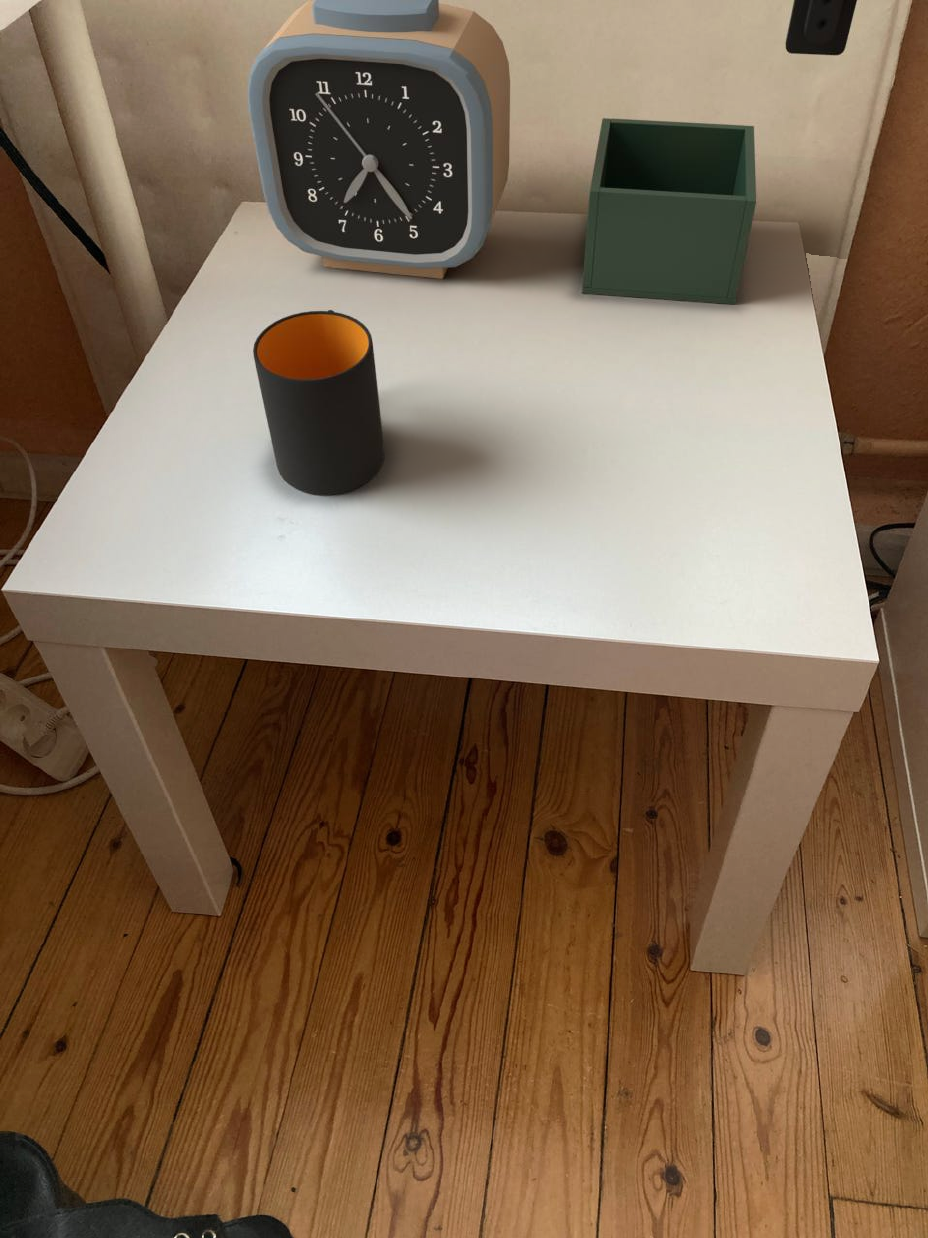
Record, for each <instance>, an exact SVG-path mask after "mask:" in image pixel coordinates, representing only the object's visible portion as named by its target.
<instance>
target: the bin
mask: <svg viewBox="0 0 928 1238" xmlns="http://www.w3.org/2000/svg"><path fill="white" fill-rule="evenodd" d="M755 145H756V144H755V126H754V125H743V124H725V123H724V124H723V123H706V122H688V121H687V122H685V121H668V120H667V121H666V120H650V119H648V120H647V119H631V118H630V119H629V118H609V117H607V118H606V117H605V118H604V117H603V118H602V119H601V124H600V130H599V136H598V142H597V147H596V152H595V153H596V154H595V158H594V164H593V170H592V176H591V181H590V187H589V195H588V208H587V221H586V233H585V246H584V247H585V248H584V261H583V274H582V286H581V287H582V289H581V294H587V295H588V294H589V295H601V296H602V295H603V296H613V297H614V296H615V297H616V296H617V297H630V298H641V299H642V298H643V299H655V300H669V301H685V302H696V303H709V304H711V303H713V304H723V305H724V304H725V305H736V303H737V297H738V292H739V288H740V282H741V278H742V272H743V269H744V264H745V259H746V255H747V248H748V244H749V239H750V234H751V230H752V226H753V220H754V215H755V210H756V206H757V181H756V178H757V177H756V149H755Z"/></svg>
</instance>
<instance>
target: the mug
mask: <svg viewBox="0 0 928 1238" xmlns="http://www.w3.org/2000/svg"><path fill="white" fill-rule="evenodd" d="M252 354H253V359H254V365H255V369H256V374H257V379H258V384H259V389H260V393H261V394H260V395H261V398H262V402H263V408H264V413H265V418H266V423H267V426H268V432H269V436H270V440H271V441H270V442H271V445H272V450H273V454H274V460H275V464H276V469H277V470H278V471H277V472H278V474H279V476H280V477H281V478H282V479H283V481H285V482H286V483H287V484H288V485H289V486H291V487H292V488H294V489H296V490H298V491H301V492H303V493H307V494H310V495H311V494H312V495H320V496H333V495H338V494H339V495H340V494H344V493H347V492H352V491H354V490H356V489H358V488H361V487H362V486H364V485H365V484H367V483H369V482H370V481H371V480H373V479H374V477H375V476H376V475H377V474H378V473H379V471H380V469H381V468H382V466H383V464H384V460H385V445H384V436H383V425H382V416H381V407H380V398H379V396H380V395H379V387H378V380H377V369H376V360H375V359H376V358H375V351H374V342H373V337H372V334H371V332H370V330H369V328H368V327H367V326H366V325H365V324H364V323H362V322H361V321H360V320H358V319H357V318H355V317H353V316H351V315H348V314H345V313H342V312H336V311H334V310H332V309H329V310H311V311H304V312H303V311H302V312H298V313H294V314H290V315H287V316H284V317H282V318H280V319H277V320H276V321H274V322H272V323H271V324H269V325H268V326H267V327H266V328H265V329H263V330H262V331H261V332H260V333H259V335H258V336H257V337H256V339H255V341H254V344H253V349H252Z"/></svg>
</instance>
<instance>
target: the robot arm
mask: <svg viewBox="0 0 928 1238" xmlns="http://www.w3.org/2000/svg"><path fill="white" fill-rule="evenodd" d="M857 2H858V0H793V4H792V9H791V14H790V18H789V22H788V23H789V24H788V29H787V33H786V39H785V43H784V44H785V51H787V53H789V54H791V55H792V54H793V55H814V56H815V55H818V56H840V55H841V54H843V53H844V52H845V50H846V47H847V43H848V39H849V35H850V30H851V27H852V23H853V19H854V16H855V15H854V14H855V10H856V6H857Z"/></svg>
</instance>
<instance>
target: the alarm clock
mask: <svg viewBox="0 0 928 1238" xmlns="http://www.w3.org/2000/svg"><path fill="white" fill-rule="evenodd" d="M439 1H440V0H308V1H307V2H305V3H304V4H303V5H301V6H300V7H299V8H298V9H296V10H295V11H294V12H292V14H291V15H290V16H289V17H288V18H287V20H286V21H285V22H284V23H283V25H282V26H281V27H280V28H279V29H278V31H277V32H275V34H274V35H273V37H272V38H271V39H270V41H269V42H268V43H267V44H266V45H265V47H263V49H261V51H260V53H258V55H257V57H256V58H255V61H254V63H253V65H252V67H251V69H250V71H249V77H248V86H247V91H246V92H247V93H246V95H247V103H248V105H247V106H248V115H249V119H250V125H251V131H252V137H253V142H254V149H255V153H256V160H257V164H258V169H259V176H260V181H261V187H262V192H263V197H264V200H265V204H266V207H267V211H268V213H269V215H270V217H271V219H272V221H273V223H274V225H275V227H276V229H277V230H278V231H279V232H280V234H282V236H283V237H284V238H285V239H286V241H288V242H289V243H291V244H292V245H293V246H295V247H296V248H298V249H300V251H302V252H304V253H307V254H311V255H315V256H318V257H322V263H323V267H324V268H333V269H341V270H350V271H351V270H352V271H360V272H361V271H362V272H370V273H371V272H372V273H382V274H392V275H400V276H401V275H403V276H410V277H411V276H412V277H422V278H430V279H431V278H432V279H441V280H443V279H444V277H445V274H446V273H447V270H448V269H449V268H457V267H458V266H460V265H462V264H465V263H466V262H468V261H470V260H472V259H473V258H474V257H475V255H476V254H477V253H478V252H479V251H480V250H481V249H482V247H483V246H484V243H485V240H486V238H487V235H488V233H489V231H490V230H489V229H490V228H491V226H492V222H493V220H494V217H495V214H496V211H497V209H498V206H499V204H500V201H501V198H502V196H503V193H504V191H505V187H506V185H507V182H508V178H509V177H508V176H509V168H510V139H511V138H510V136H511V135H510V132H511V131H510V130H511V129H510V127H511V124H510V123H511V76H510V75H511V74H510V62H509V59H508V55H507V52H506V49H505V46H504V42H503V39H501V38H500V35H499V34H498V33H497V31H496V29H495V28H494V27H493V24H491V23H489V22H488V21H487V20H486V19H485V18H483V17H482V16H481V15H480V14H478V13H477V12H476V11H474V10H472V9H471V10H470V9H467V8H462V7H458V6H454V5H450V4H445V3H442V2H439Z"/></svg>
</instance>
